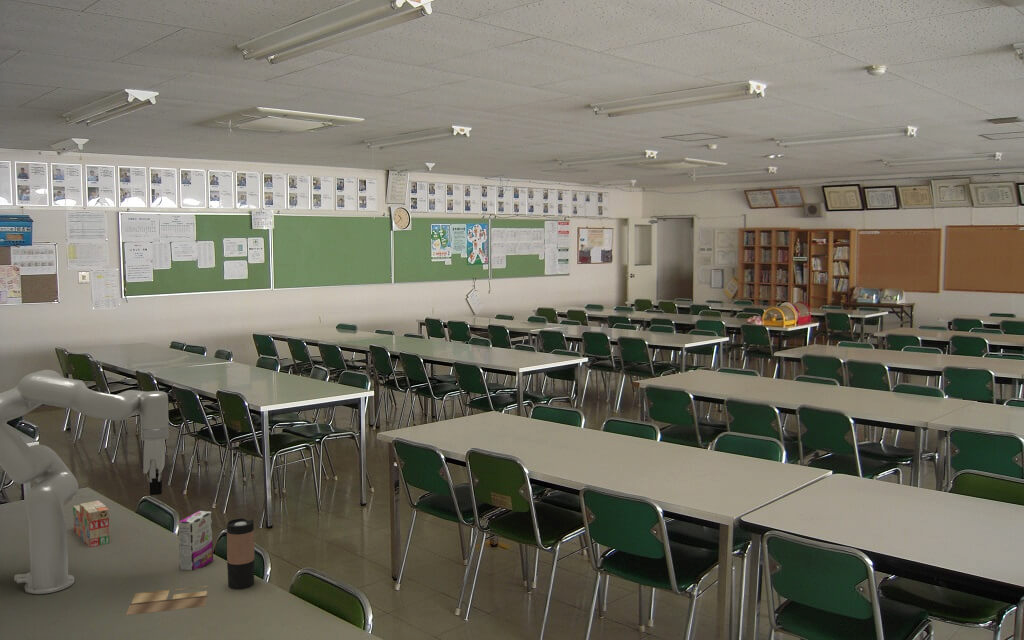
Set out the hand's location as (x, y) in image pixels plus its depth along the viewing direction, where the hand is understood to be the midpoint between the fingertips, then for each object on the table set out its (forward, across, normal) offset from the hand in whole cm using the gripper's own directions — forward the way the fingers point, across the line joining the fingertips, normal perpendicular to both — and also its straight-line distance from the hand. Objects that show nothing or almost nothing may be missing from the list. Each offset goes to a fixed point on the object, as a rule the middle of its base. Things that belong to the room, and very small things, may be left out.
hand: (156, 494), depth 233 cm
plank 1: (+27, +13, 0) cm, 30 cm away
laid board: (+27, +20, +5) cm, 34 cm away
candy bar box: (+27, -10, +10) cm, 31 cm away
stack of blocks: (+28, -48, -27) cm, 62 cm away
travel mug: (+27, +11, +24) cm, 38 cm away
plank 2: (+27, +13, +10) cm, 32 cm away
